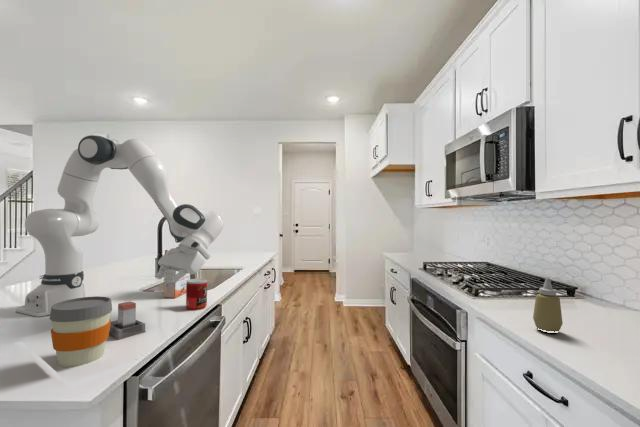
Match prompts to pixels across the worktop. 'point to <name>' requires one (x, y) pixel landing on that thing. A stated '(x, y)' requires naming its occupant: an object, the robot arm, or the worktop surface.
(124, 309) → the steel peg
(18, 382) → the worktop surface
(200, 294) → the canned food
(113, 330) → the square open tray
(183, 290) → the cracker box
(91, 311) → the reusable coffee cup
